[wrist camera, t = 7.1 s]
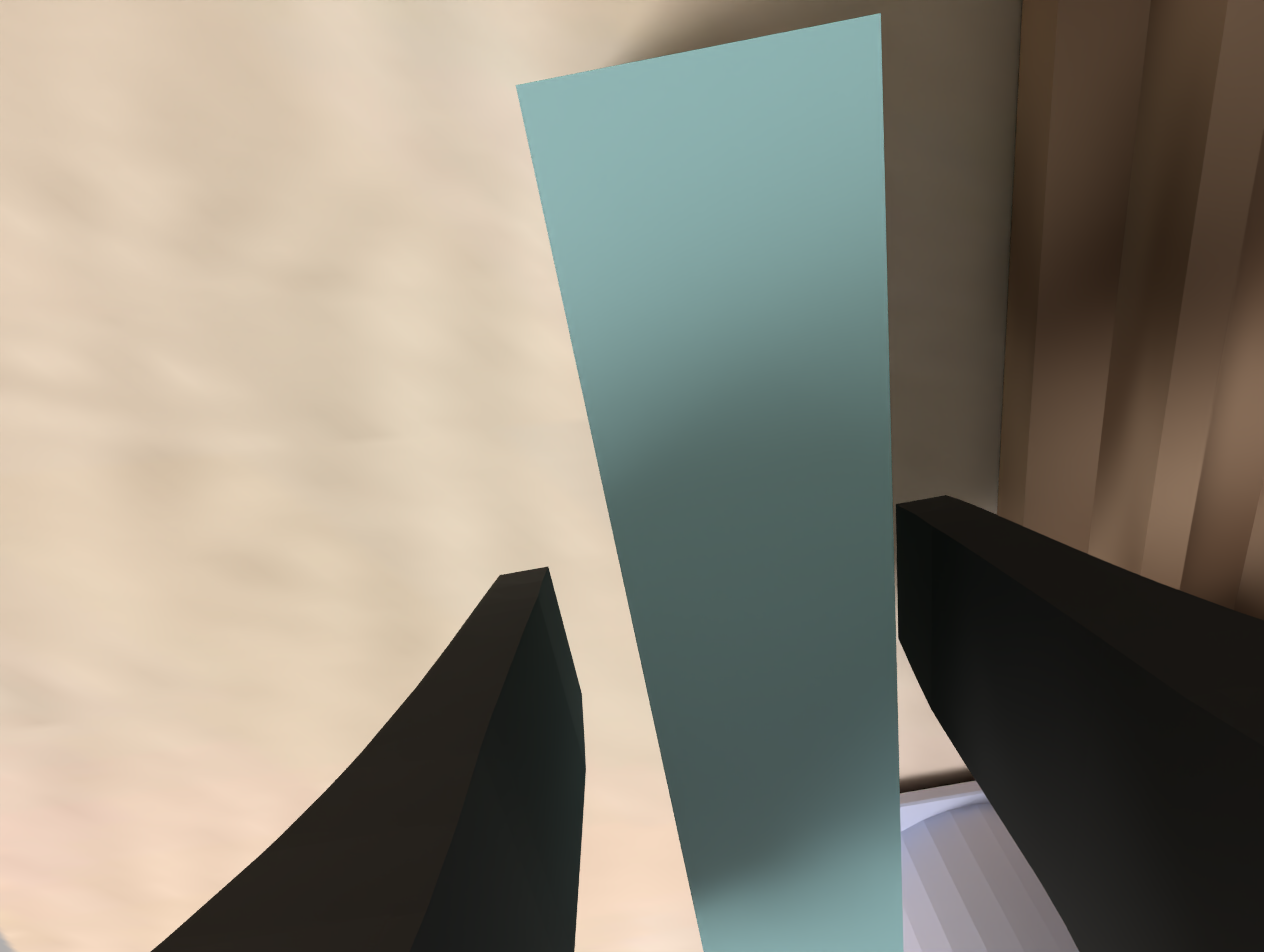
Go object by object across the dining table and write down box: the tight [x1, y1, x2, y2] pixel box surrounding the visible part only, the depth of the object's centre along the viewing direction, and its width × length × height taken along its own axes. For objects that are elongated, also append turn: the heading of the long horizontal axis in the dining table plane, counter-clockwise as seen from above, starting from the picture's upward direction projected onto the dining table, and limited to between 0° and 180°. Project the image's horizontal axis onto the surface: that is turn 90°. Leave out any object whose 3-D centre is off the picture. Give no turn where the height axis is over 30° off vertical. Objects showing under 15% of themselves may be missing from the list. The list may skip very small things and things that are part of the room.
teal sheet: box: [516, 13, 904, 952], centre depth 11 cm, size 12×2×9 cm, turn 10°
